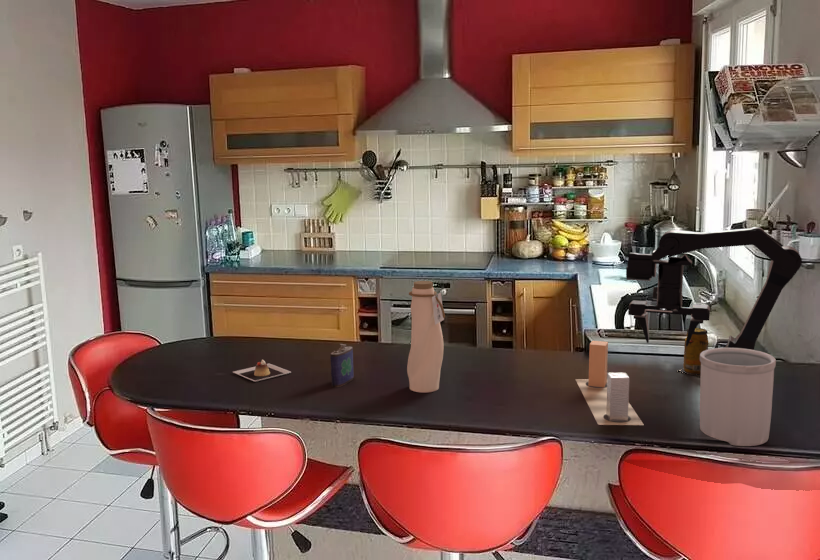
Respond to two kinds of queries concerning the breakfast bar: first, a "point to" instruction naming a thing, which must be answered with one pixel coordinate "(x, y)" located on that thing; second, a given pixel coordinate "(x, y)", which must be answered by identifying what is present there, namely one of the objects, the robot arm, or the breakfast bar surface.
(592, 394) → the template board
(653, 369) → the breakfast bar surface
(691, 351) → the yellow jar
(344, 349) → the flask
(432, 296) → the water bottle
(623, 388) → the fixed post
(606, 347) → the marker post
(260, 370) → the dessert
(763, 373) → the utensil holder
